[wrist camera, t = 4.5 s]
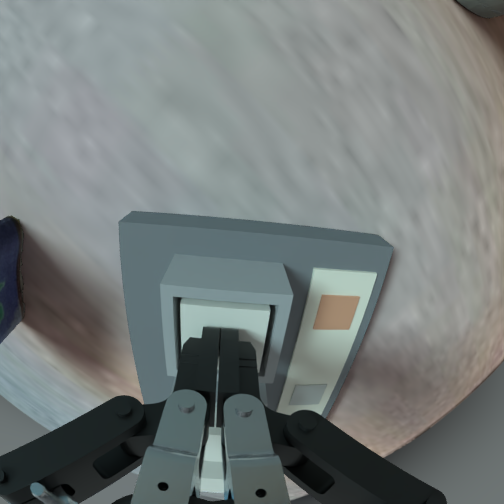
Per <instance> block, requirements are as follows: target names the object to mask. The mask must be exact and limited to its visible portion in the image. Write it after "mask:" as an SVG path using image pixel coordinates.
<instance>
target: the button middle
mask: <svg viewBox="0 0 504 504" xmlns="http://www.w3.org/2000/svg"><path fill="white" fill-rule="evenodd" d="M216 416H217V407H215V423H214V427H209V437H208V441H207V445H206V452H205V458H204V461H215V462H222V457H221V428H219V427H216Z"/></svg>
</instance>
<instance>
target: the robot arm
mask: <svg viewBox="0 0 504 504" xmlns="http://www.w3.org/2000/svg"><path fill="white" fill-rule="evenodd" d="M457 1H458V2H459V3H461V4H462V5H463V6H464V7H466V8H467V9H468V10H470V11H472V12H473V13H475V14H476V15H479V16H481V17H484V18H493V17H497V16H501V15H504V0H457ZM219 335H220V328H214V327H203V330H202V337H201V338H194V337H190V338H189V339H188V340H187V341H186V342H185V343H184V344H183V348H182V353H181V357H180V363H179V367H178V371H177V376H176V381H175V386H174V390H173V393H172V394H171V395H170V396H169V397H168V398H167V399H166V400H164V401H162V402H159V403H153V404H143V405H142V404H141V403H140V401H138V400H137V399H136V398H134V397H131V396H125V395H122V396H117V397H114V398H112V399H110V400H109V401H107V402H105V403H103V404H102V405H100V406H98V407H96V408H94V409H93V410H91V411H89V412H87V413H85V414H84V415H82V416H80V417H78V418H76V419H74V420H73V421H71V422H69V423H67V424H65V425H63V426H61V427H59V428H57V429H55V430H54V431H52V432H50V433H48V434H46V435H44V436H42V437H40V438H38V439H36V440H34V441H32V442H30V443H28V444H26V445H24V446H21V447H19V448H17V449H15V450H13V451H11V452H9V453H7V454H5V455H2V456H0V496H1V497H2V498H3V499H5V500H6V501H7V502H8V503H9V504H79V503H81V502H82V501H84V500H86V499H87V498H89V497H91V496H93V495H94V494H96V493H98V492H99V491H101V490H103V489H104V488H106V487H107V486H109V485H111V484H112V483H114V482H116V481H117V480H119V479H120V478H122V477H123V476H125V475H126V474H128V473H129V472H131V471H132V470H134V469H135V468H137V467H138V466H140V465H141V464H142V465H141V469H140V472H139V475H138V479H137V482H136V486H135V489H134V493H133V494H131V495H128V496H125V497H123V498H120V499H118V500H116V501H115V502H113V503H112V504H291V503H290V499H289V494H288V490H287V486H286V482H285V477H284V474H285V475H286V476H287V477H288V478H290V479H291V480H292V481H293V482H295V483H296V484H297V485H298V486H299V487H301V488H302V489H303V490H305V491H306V492H307V493H308V494H310V495H311V496H312V497H314V498H315V499H316V500H318V501H319V502H320V503H322V504H447V501H446V498H445V496H444V494H443V493H442V492H440V491H439V490H437V489H435V488H433V487H432V486H430V485H428V484H426V483H424V482H422V481H421V480H418V479H417V478H415V477H414V476H412V475H410V474H408V473H407V472H405V471H403V470H402V469H400V468H398V467H397V466H395V465H393V464H392V463H390V462H389V461H387V460H385V459H384V458H382V457H381V456H379V455H378V454H376V453H374V452H373V451H371V450H370V449H368V448H367V447H365V446H364V445H362V444H361V443H359V442H358V441H356V440H355V439H353V438H352V437H351V436H349V435H348V434H346V433H345V432H343V431H342V430H341V429H339V428H338V427H336V426H335V425H333V424H332V423H331V422H329V421H328V420H327V419H325V418H324V417H323V416H321V415H320V414H318V413H316V412H314V411H311V410H299V411H296V412H294V413H292V414H291V415H286V414H282V413H278V412H275V411H273V410H271V409H269V408H268V407H267V406H265V405H264V403H263V402H262V400H261V398H260V391H259V380H258V369H257V361H256V360H257V358H256V350H255V348H254V347H253V345H252V344H251V342H245V341H239V332H238V329H227V328H221V342H220V357H219V374H218V394H217V416H216V427H219V428H221V457H222V469H223V480H224V500H221V501H207V500H204V499H200V489H201V478H202V472H203V465H204V458H205V452H206V445H207V441H208V437H209V427H214V423H215V403H216V384H217V367H218V351H219Z"/></svg>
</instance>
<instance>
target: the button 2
mask: <svg viewBox="0 0 504 504" xmlns="http://www.w3.org/2000/svg"><path fill="white" fill-rule="evenodd" d="M269 316H270V306H269V305H268V304H253V303H239V302H227V301H215V300H204V299H193V298H183V297H182V300H181V303H180V318H181V346H182V348H183V344H184V343H185V342H186V341H187V340H188V339H189V338H190V337H194V338H201V337H202V330H203V327H214V328H220V335H219V351H218V367H217V370H219V357H220V342H221V328H227V329H238V332H239V341H245V342H251V344H252V345H253V347H254V348H255V350H256V358H257V360H256V361H257V369H258V373H259V370H260V365H261V360H262V355H263V349H264V344H265V338H266V333H267V327H268V322H269Z"/></svg>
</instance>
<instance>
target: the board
mask: <svg viewBox="0 0 504 504" xmlns="http://www.w3.org/2000/svg"><path fill="white" fill-rule="evenodd" d="M119 242H120V257H121V269H122V280H123V289H124V298H125V306H126V313H127V320H128V326H129V333H130V339H131V344H132V350H133V355H134V360H135V365H136V370H137V375H138V379H139V383H140V388H141V392H142V396H143V400H144V404H153V403H159V402H162V401H164V400H166V399H167V398H168V397H169V396H170V395H171V394H172V393H173V390H174V386H175V381H176V376H177V371H178V367H179V363H180V357H181V353H182V346H181V318H180V303H181V300H182V297H183V298H193V299H204V300H215V301H227V302H239V303H253V304H268V305H269V306H270V316H269V322H268V327H267V333H266V338H265V344H264V349H263V355H262V360H261V365H260V370H259V373H258V380H259V391H260V398H261V400H262V402H263V403H264V405H265V406H267V407H268V408H269V409H271V410H273V411H275V412H278V413H282V414H286V415H291V414H292V413H294V412H296V411H299V410H311V411H314V412H316V413H318V414H320V415H321V416H323V417H324V418H325V419H326V417H327V415H328V413H329V411H330V409H331V408H332V406H333V404H334V402H335V400H336V398H337V396H338V394H339V392H340V389H341V387H342V385H343V383H344V381H345V379H346V377H347V375H348V372H349V370H350V368H351V366H352V363H353V361H354V359H355V357H356V354H357V352H358V349H359V347H360V345H361V342H362V340H363V337H364V335H365V332H366V330H367V327H368V324H369V322H370V319H371V316H372V314H373V311H374V308H375V305H376V303H377V300H378V297H379V294H380V291H381V288H382V285H383V282H384V279H385V275H386V272H387V269H388V266H389V262H390V259H391V256H392V252H393V248H394V247H393V246H391V245H390V244H389V243H388V242H386V241H385V240H384V239H383V238H381V237H380V236H379V235H375V234H368V233H360V232H352V231H344V230H335V229H327V228H318V227H310V226H300V225H291V224H282V223H272V222H262V221H252V220H241V219H230V218H218V217H206V216H194V215H181V214H167V213H153V212H137V211H132V212H131V213H129V214H128V215H127V216H125V217H124V218H123V219H122V220H120V221H119ZM218 374H219V370H217V384H216V403H215V407H217V394H218Z"/></svg>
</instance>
